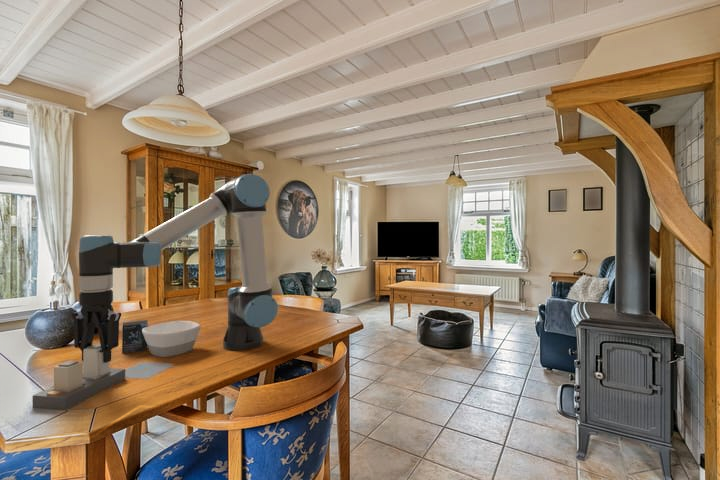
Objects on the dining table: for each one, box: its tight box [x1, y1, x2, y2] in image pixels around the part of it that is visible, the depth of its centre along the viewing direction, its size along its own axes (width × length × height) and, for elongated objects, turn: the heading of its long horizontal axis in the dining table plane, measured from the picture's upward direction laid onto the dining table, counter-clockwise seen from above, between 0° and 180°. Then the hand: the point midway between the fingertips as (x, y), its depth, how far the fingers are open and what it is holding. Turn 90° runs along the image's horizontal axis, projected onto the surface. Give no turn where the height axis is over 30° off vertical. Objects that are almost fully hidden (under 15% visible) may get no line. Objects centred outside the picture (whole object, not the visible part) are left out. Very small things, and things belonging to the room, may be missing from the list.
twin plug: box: [53, 360, 83, 393], centre depth 88 cm, size 4×4×9 cm
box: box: [121, 319, 149, 354], centre depth 126 cm, size 8×6×11 cm
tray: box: [125, 361, 175, 380], centre depth 107 cm, size 12×12×1 cm
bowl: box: [142, 320, 201, 358], centre depth 125 cm, size 18×18×9 cm
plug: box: [84, 343, 109, 379], centre depth 96 cm, size 4×4×9 cm
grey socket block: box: [32, 367, 126, 411], centre depth 92 cm, size 9×18×4 cm, turn 173°
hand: (96, 372), depth 96 cm, fingers open, 4 cm apart
